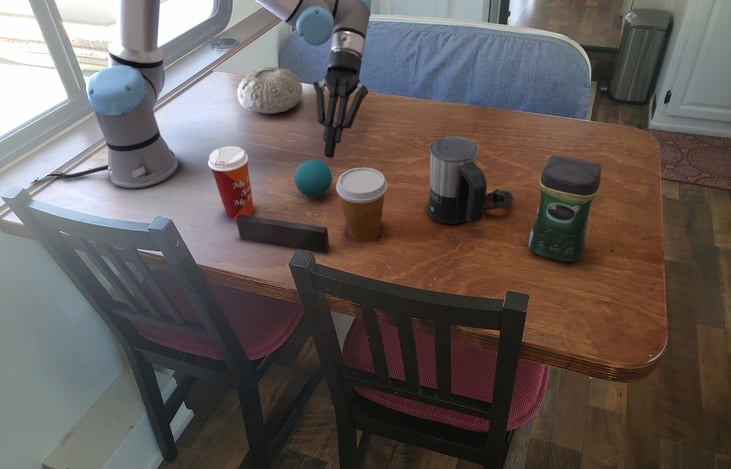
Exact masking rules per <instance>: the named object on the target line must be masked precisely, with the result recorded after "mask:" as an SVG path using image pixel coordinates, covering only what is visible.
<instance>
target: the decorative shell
mask: <svg viewBox="0 0 731 469" xmlns="http://www.w3.org/2000/svg"><path fill="white" fill-rule="evenodd" d="M302 95H303V84H302V83H301V80H300V79H299V77H298V76H297V75H296V73H294V72H292V71H291V70H290V69H285V68H282V67H277V66H275V67H273V66H267V67H266V66H265V67H264V66H263V67H262V68H259V69H256V70H252V71H251V72H248V74H246V75H245V76H244V77H243V78H242V80H241V82H240V83H238V87H237V98H238V99H237V100H238V101H239V104H240V105H241V106H242V107H243V109H245V110H247V111H249V112H253V113H262V114H275V115H276V114H281V113H282V112H283V113H284V112H287V111H288V110H290V109H293V108H294V107H295V106H296V105H297V104H298V103H299V102H300V101H301V98H302Z"/></svg>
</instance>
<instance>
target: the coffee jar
mask: <svg viewBox="0 0 731 469" xmlns="http://www.w3.org/2000/svg"><path fill="white" fill-rule="evenodd" d="M601 176H602V165H601V164H600V163H596V162H593V161H589V160H583V159H578V158H573V157H568V156H563V155H562V156H561V155H555V154H552V155H551V156H550V157H549V158H548V159H547V161H546V163H545V164H544V167H543V170H542V173H541V175H540V177H539V182H538V183H539V190H540V197H539V203H538V208H537V212H536V214H535V218H534V221H533V224H532V227H531V230H530V234H529V240H528V248H529V250H530V252H532V253H533V254H534V255H537V256H539V257H541V258H545V259H549V260H552V261H556V262H562V263H575V262H576V261H578V260H579V259H580V258H581V257H582V255H583V253H584V248H585V244H586V238H587V231H588V230H587V229H588V222H589V214H590V210H591V205H592V202H593V200H594V199H595V198H596V197H597V195H598V193H599V191H600V187H601Z"/></svg>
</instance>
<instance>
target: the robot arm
mask: <svg viewBox="0 0 731 469" xmlns="http://www.w3.org/2000/svg"><path fill="white" fill-rule="evenodd" d="M254 1H255V2H256V3H257V4H259V5H261V6H262V7H264V9H266V10H268V11H269V12H270V13H271V14H273V15H274V16H276V17H278V18H279V19H280V20H281V21H283V22H285V24H287V25H288V26H289V27H291V28H292V29H294V30H295V31H296V33H297V35H298V36H299V37H300V39H301V40H302V41H303V42H304V43H305V44H306V45H307V44H308V45H309V46H314V47H315V46H316V47H317V46H322V45H323V44H326V43H327V42H328V41H329V40H330V39H331V38H332V41H331V46H330V54H329V57H328V62H327V68H326V73H325V75H324V76H323V79H322V80H320V81H314V82H313V84H312V86H313V87H314V91H315V95H316V96H315V98H316V99H315V100H316V112H317V113H316V116H317V122H318V124H320V125H321V126H323V127H324V129H323V135H322V140H323V142H324V143H325V145H324V151H323V155H324V156H325V157H326V158H330V159H334V158H335V153H336V152H335V151H336V147H337V146H336V145H337V144H340V143H341V140H342V134H343V131H344V130H345V129H351V127H352V126H353V124H354V121H355V119H356V117H357V114H358V111H359V110H360V107H361V105H362V101H363V100H364V98H366V96H367V95H368V94H369V90H368V88H367V86H366V85H363V84H361V79H360V74H361V69H362V63H363V61H362V59H363V57H364V52H365V45H366V38H367V33H368V27H369V23H370V18H371V13H372V12H371V11H372V0H254ZM160 9H161V0H116V39H115V40H114V41H112V42H111V43H110V44H108V66H107V67H105V68H101V69H100V70H99V72H94V73H93V74H92V75H91V76H90V77H89V78H88V80H87V81H86V84H85V85H86V86H85V88H86V94H87V99H88V103H89V105H90V106H91V108H92V111H93V113H94V116H95V119H96V121H97V123H98V126H99V129H100V131H101V133H102V134H101V135H102V136H103V139H104V141H105V144H106V147H107V160H108V164H105V165H102V166H97V167H93V168H90V169H86V170H83V171H79V172H75V173H66V172H63V171H59V172H60V174H51V175H47V176H46V177H62V178H64V179H75V178H81V177H84V176H87V175H91V174H95V173H99V172H102V171H108V175H109V178H110V180H111V182H112V184H114V185H115V186H117V187H120V188H124V189H142V188H147V187H152V186H154V185H157V184H159V183H162V182H164V181H166V180H167V179H169V178H170V177H172V175H174V174H175V172H176V171H177V170H178V166H179V163H178V160H177V157H176V154H175V153H174V151H173V150H172V149H170V147H169V145H168V144H167V142H166V141H165V139H164V138H163V137H162V135H161V132H160V129H159V125H158V122H157V119H156V115H155V110H154V109H155V106H156V103H157V101H158V99H159V97H160V94H161V92H162V91H163V88H164V87H165V82H166V76H165V69H164V52H163V51H162V50H161V49H160V48H159V47H158V38H159V27H160V26H159V23H160ZM332 35H333V36H332ZM326 88H327V90H328V101H327V107H326V105H325V104H326V103H325V102H326V101H325V93H324V92H325V90H326ZM354 92H355V94H354V95H353V96H354V97H353V98H352V101H351V103H350V106H349V107H348V103H349V101H350V97H351V95H352V94H353V93H354ZM337 105H338V108H337ZM347 108H348V109H347ZM336 110H337V114H336ZM335 116H336V118H335ZM335 119H336V120H335Z"/></svg>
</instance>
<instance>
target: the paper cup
mask: <svg viewBox="0 0 731 469" xmlns="http://www.w3.org/2000/svg"><path fill="white" fill-rule="evenodd" d="M248 161H249V155H248V154H247V153H246V151H245V150H244V149H243V148H241V147H239V146H231V145H230V146H223V147H220V148H217V149H215V150H213V151H212V152H211V153H210V155H209V158H208V162H207V164H208V167H209V168H210V169H211V172H212V175H213V178H214V181H215V184H216V187H217V190H218V193H219V196H220V199H221V202H222V206H223V208H224V211H225V214H226V216H227V218H228V219H229V220H230V221H235V222H236V218H237V217H238V216H239V214H241V215H247V216H253V214H254V210H255V209H254V201H253V194H252V187H251V180H250V173H249V164H248Z"/></svg>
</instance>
